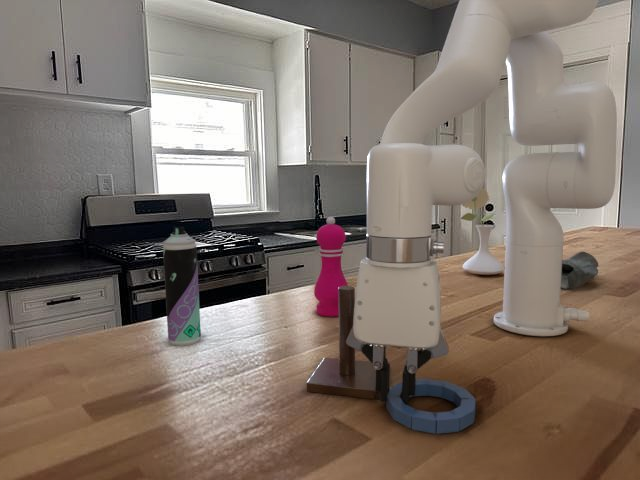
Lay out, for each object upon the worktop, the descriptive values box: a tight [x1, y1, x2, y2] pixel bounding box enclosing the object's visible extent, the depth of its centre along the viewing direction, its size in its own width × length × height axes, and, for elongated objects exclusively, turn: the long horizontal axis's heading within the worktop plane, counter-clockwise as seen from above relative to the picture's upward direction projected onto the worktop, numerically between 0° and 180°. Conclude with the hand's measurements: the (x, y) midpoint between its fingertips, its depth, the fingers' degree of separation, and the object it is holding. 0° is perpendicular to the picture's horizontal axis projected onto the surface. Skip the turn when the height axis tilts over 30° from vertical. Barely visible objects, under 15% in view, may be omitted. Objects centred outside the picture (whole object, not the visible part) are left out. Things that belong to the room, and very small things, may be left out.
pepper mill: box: [313, 216, 349, 318], centre depth 95 cm, size 7×7×20 cm
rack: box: [306, 285, 378, 400], centre depth 63 cm, size 9×9×13 cm
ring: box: [385, 377, 477, 435], centre depth 56 cm, size 10×10×2 cm
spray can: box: [162, 226, 202, 347], centre depth 80 cm, size 6×6×20 cm
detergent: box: [561, 251, 599, 290], centre depth 122 cm, size 13×7×25 cm
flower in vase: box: [460, 188, 505, 276], centre depth 131 cm, size 13×11×25 cm
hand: (395, 397), depth 57 cm, fingers closed on ring, 2 cm apart
